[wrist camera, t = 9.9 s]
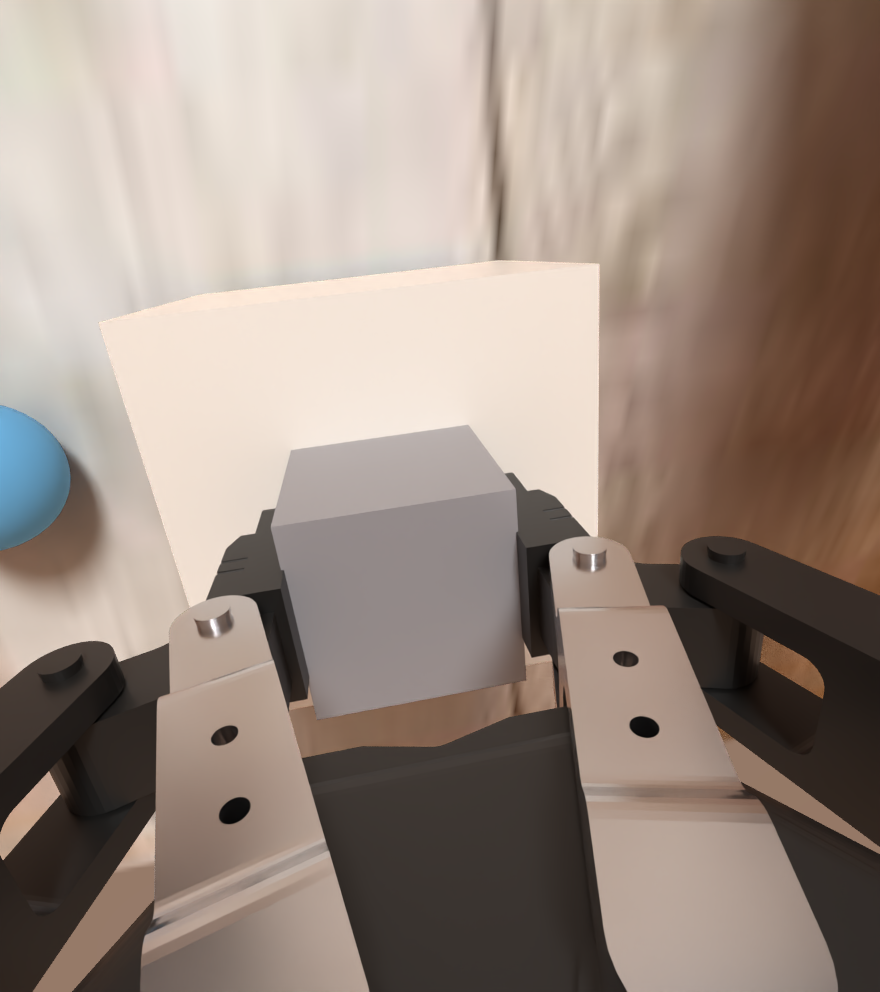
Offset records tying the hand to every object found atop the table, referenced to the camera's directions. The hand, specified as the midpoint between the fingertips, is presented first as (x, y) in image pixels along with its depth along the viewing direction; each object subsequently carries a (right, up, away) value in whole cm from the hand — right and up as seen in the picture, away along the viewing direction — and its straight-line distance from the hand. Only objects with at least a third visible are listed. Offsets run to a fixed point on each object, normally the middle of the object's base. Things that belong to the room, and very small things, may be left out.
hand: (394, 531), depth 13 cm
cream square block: (-1, +4, +9) cm, 10 cm away
